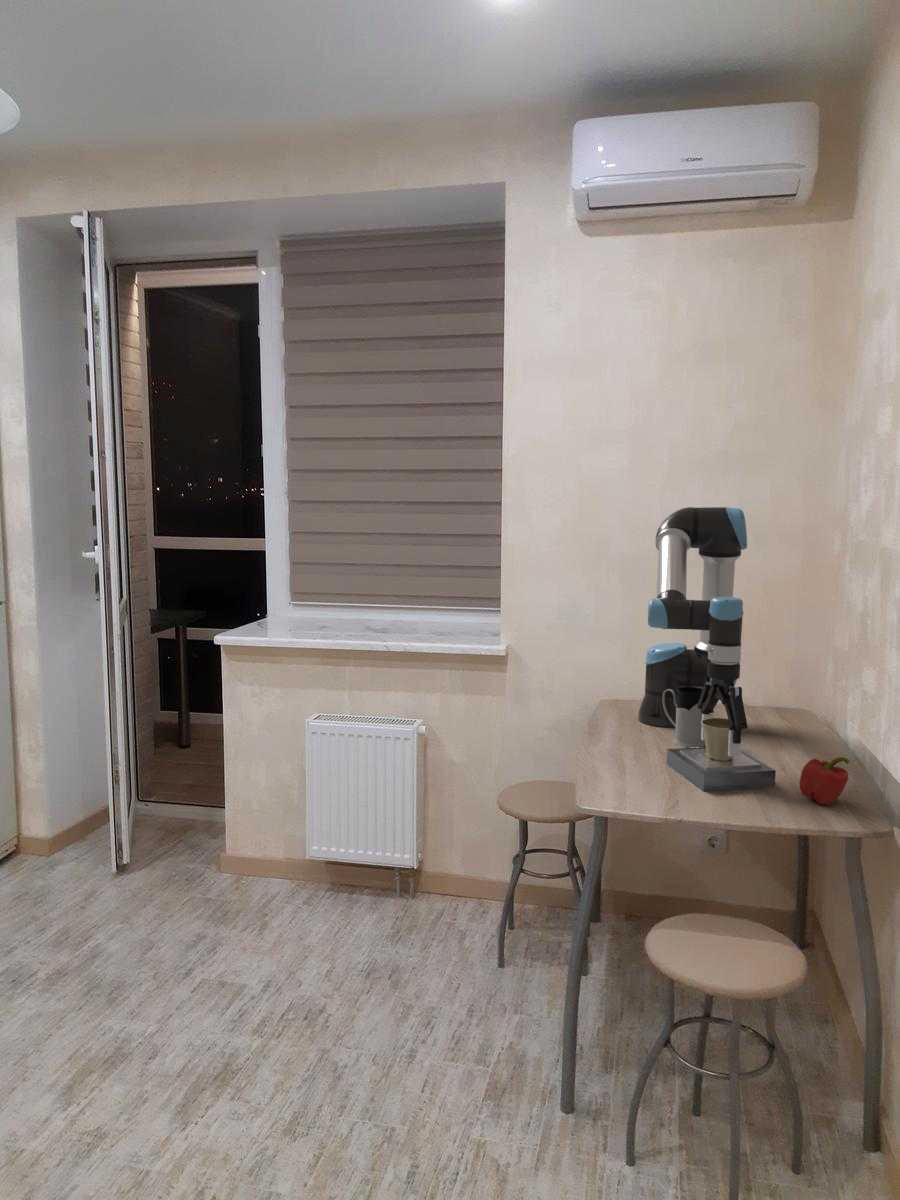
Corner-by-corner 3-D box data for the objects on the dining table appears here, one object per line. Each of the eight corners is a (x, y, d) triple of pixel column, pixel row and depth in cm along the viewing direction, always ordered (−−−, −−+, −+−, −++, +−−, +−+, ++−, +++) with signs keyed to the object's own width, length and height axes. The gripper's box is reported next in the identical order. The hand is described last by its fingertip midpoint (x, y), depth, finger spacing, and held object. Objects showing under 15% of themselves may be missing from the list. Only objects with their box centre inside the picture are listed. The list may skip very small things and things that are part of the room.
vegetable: (836, 792, 197) (839, 750, 196) (859, 808, 187) (862, 764, 186) (789, 792, 197) (792, 750, 196) (810, 809, 187) (812, 764, 186)
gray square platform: (666, 764, 217) (667, 747, 217) (732, 760, 220) (733, 743, 220) (703, 791, 198) (704, 772, 197) (774, 786, 201) (775, 768, 200)
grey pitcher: (692, 749, 230) (694, 695, 228) (651, 737, 241) (653, 685, 239) (712, 744, 235) (715, 690, 233) (671, 732, 246) (673, 681, 244)
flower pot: (713, 764, 203) (714, 729, 202) (691, 753, 212) (693, 719, 211) (747, 761, 205) (749, 726, 204) (725, 750, 214) (726, 716, 213)
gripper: (686, 652, 217) (682, 734, 220) (735, 672, 193) (731, 764, 195) (713, 651, 218) (710, 732, 221) (766, 671, 194) (761, 762, 197)
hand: (719, 747), depth 208 cm, fingers open, 13 cm apart
